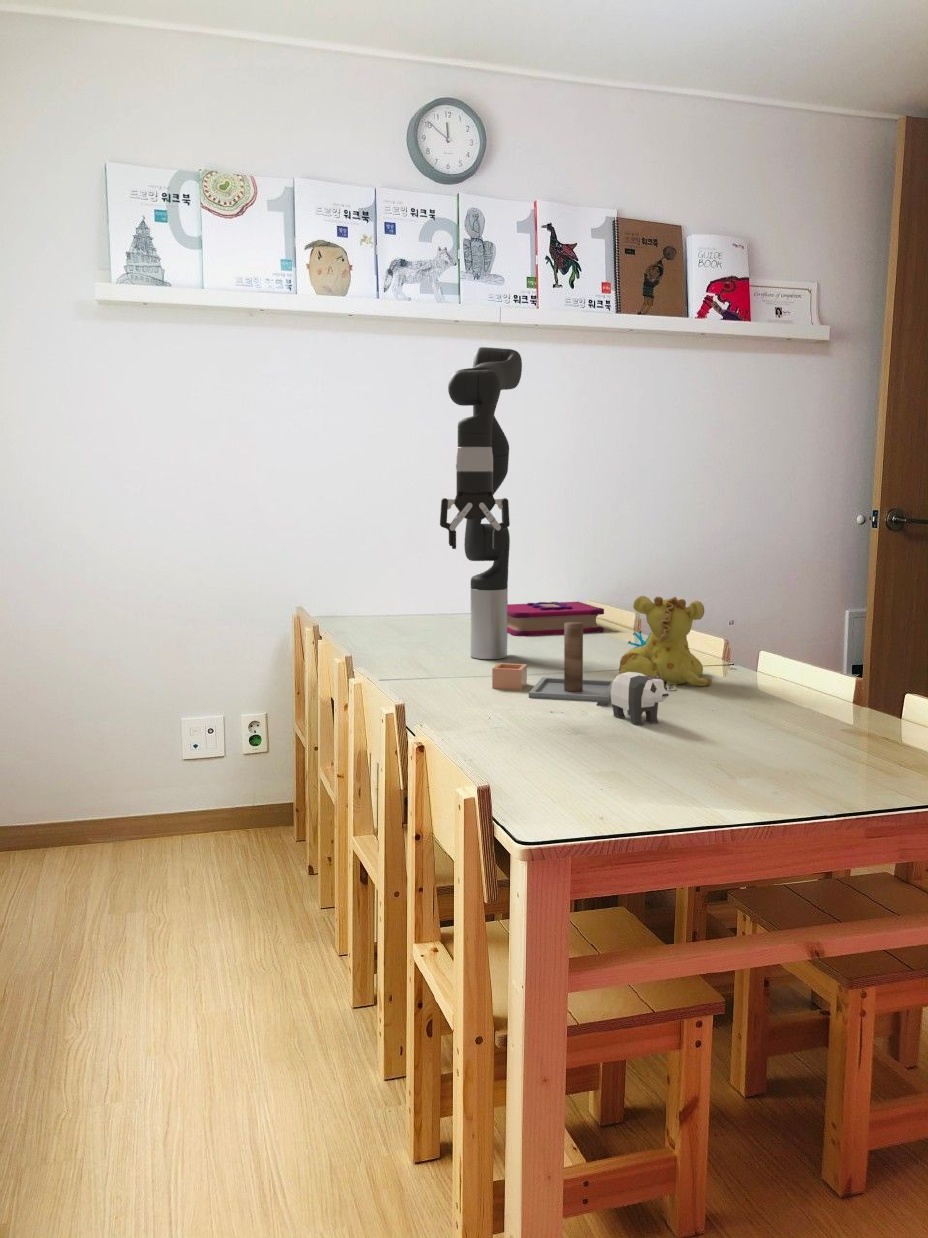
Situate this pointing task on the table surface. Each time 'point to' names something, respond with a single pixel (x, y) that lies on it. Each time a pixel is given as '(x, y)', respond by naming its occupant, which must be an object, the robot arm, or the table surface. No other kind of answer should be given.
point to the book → (551, 618)
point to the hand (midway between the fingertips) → (474, 548)
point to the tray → (591, 692)
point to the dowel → (573, 657)
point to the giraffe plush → (666, 643)
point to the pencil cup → (509, 676)
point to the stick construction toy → (639, 639)
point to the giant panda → (637, 696)
